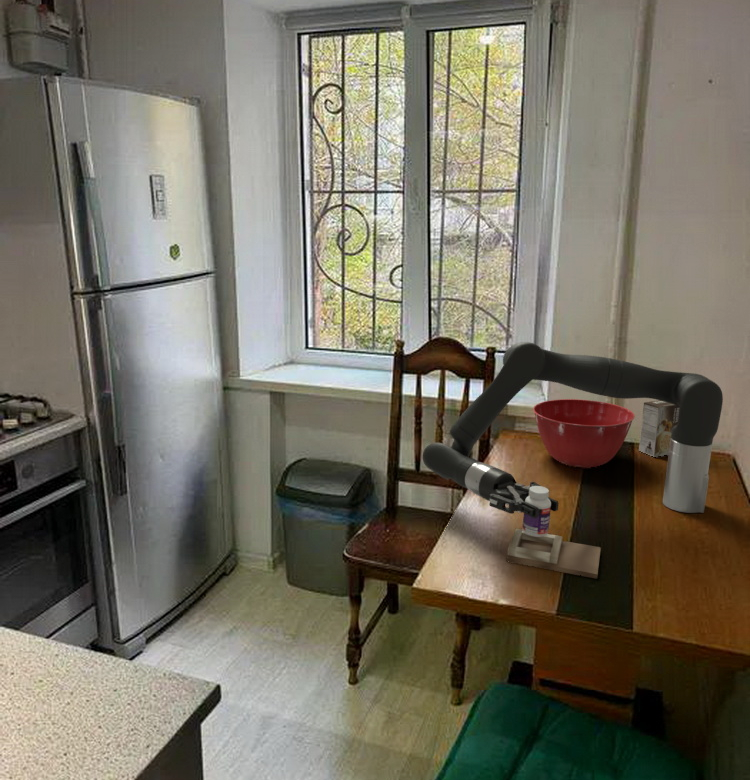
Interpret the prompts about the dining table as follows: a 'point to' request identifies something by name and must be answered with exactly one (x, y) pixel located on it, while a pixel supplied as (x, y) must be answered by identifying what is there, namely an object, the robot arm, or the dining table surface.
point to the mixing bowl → (582, 430)
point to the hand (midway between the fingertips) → (547, 510)
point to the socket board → (554, 554)
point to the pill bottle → (541, 501)
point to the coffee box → (658, 427)
